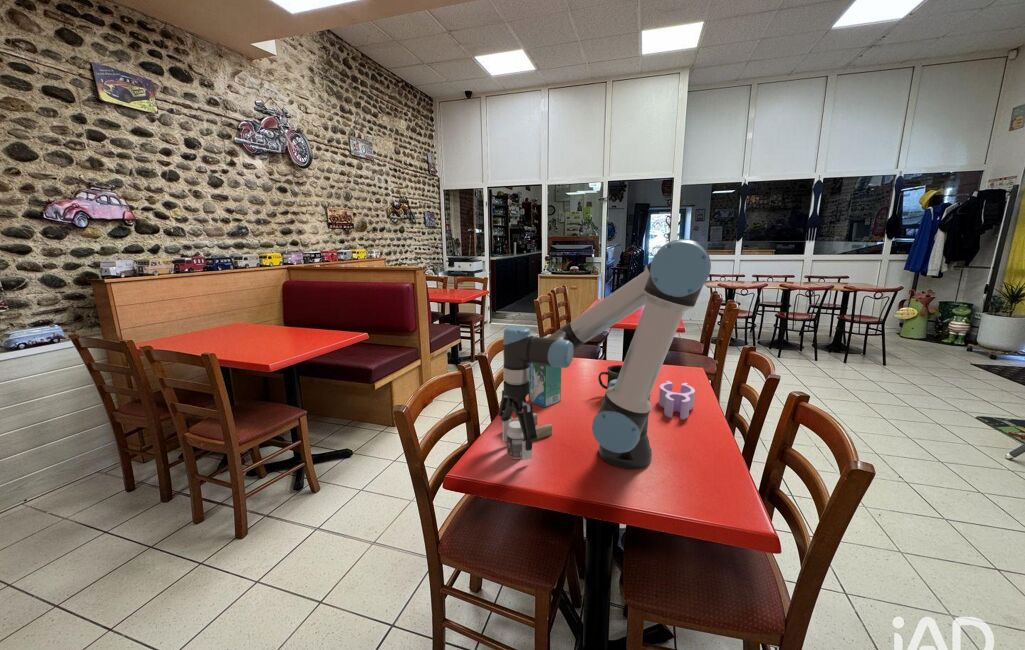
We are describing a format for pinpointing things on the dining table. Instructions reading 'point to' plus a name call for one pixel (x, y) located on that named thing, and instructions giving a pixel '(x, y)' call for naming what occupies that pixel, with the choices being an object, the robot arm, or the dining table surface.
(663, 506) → the dining table surface
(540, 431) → the channel
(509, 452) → the pill bottle
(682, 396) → the clip
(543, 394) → the milk carton
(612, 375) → the mug
